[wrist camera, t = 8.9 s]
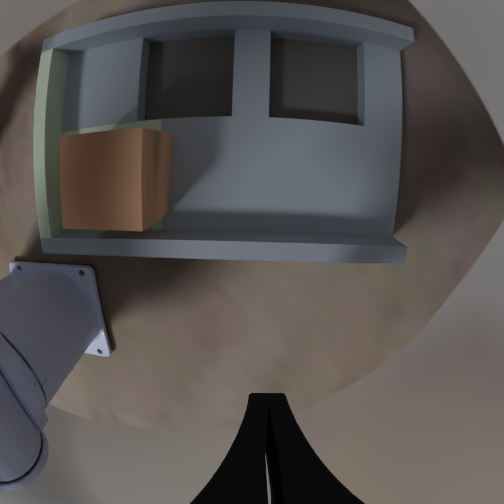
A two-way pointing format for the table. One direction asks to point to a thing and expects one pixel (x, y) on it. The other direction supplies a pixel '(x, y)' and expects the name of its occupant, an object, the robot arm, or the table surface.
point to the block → (115, 179)
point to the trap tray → (236, 128)
